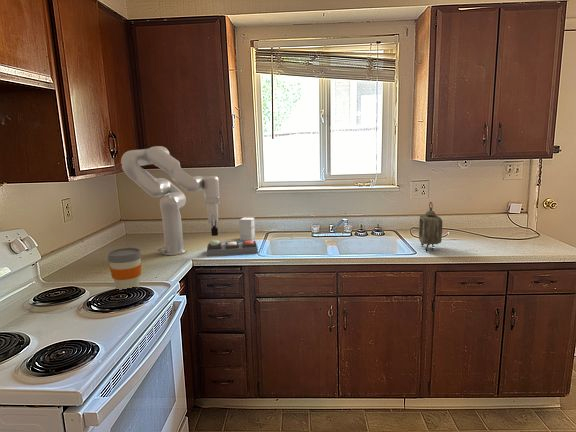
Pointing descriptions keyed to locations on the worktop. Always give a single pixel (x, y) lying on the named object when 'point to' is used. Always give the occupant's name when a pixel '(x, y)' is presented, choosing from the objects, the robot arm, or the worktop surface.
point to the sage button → (214, 243)
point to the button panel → (231, 249)
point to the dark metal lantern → (430, 228)
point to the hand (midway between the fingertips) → (214, 235)
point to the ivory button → (232, 243)
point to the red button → (249, 242)
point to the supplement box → (247, 229)
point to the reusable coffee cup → (125, 267)
